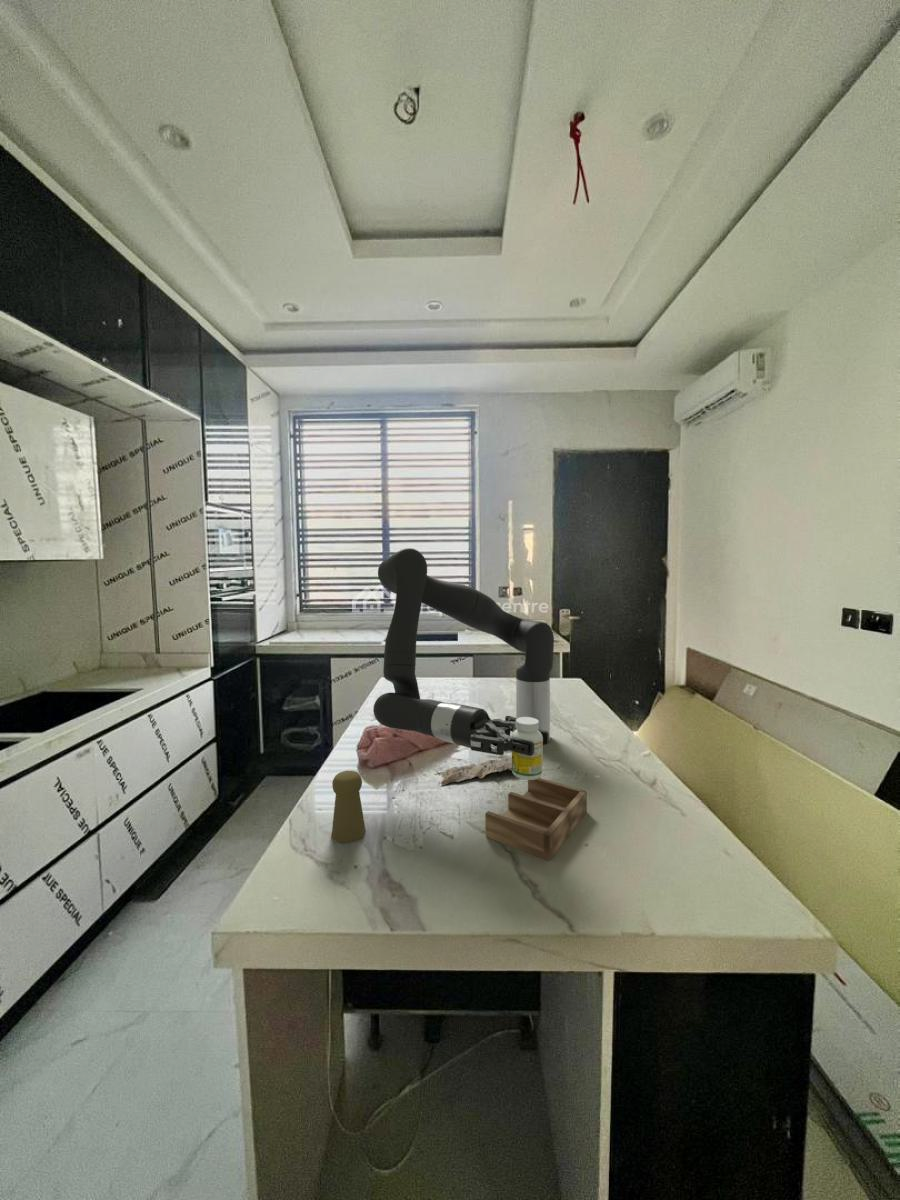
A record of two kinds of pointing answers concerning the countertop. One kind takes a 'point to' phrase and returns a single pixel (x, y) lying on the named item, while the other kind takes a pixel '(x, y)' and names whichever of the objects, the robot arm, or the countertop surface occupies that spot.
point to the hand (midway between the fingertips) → (540, 743)
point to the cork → (347, 808)
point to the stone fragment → (474, 770)
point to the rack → (538, 817)
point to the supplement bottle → (526, 764)
